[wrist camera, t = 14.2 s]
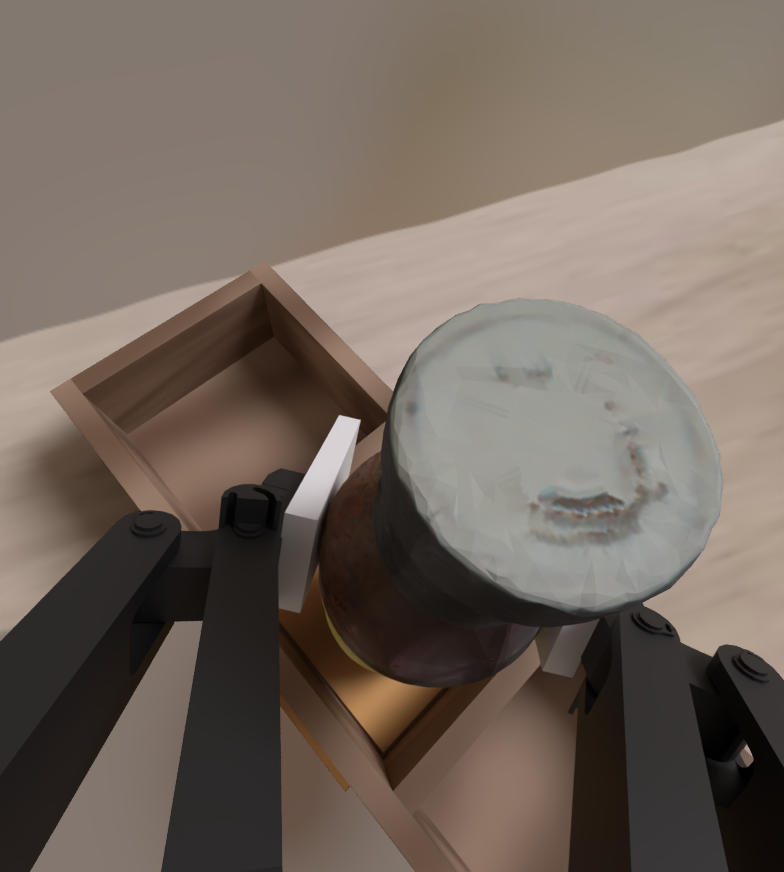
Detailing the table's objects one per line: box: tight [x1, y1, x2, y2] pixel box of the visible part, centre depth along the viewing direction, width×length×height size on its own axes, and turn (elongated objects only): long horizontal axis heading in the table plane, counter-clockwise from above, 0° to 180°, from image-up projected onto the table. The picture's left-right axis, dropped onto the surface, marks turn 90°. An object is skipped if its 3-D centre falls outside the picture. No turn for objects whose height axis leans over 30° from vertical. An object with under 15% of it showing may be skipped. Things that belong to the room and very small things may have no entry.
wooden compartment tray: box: [50, 262, 753, 872], centre depth 23 cm, size 34×12×6 cm, turn 42°
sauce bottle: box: [318, 298, 723, 688], centre depth 15 cm, size 6×6×20 cm
